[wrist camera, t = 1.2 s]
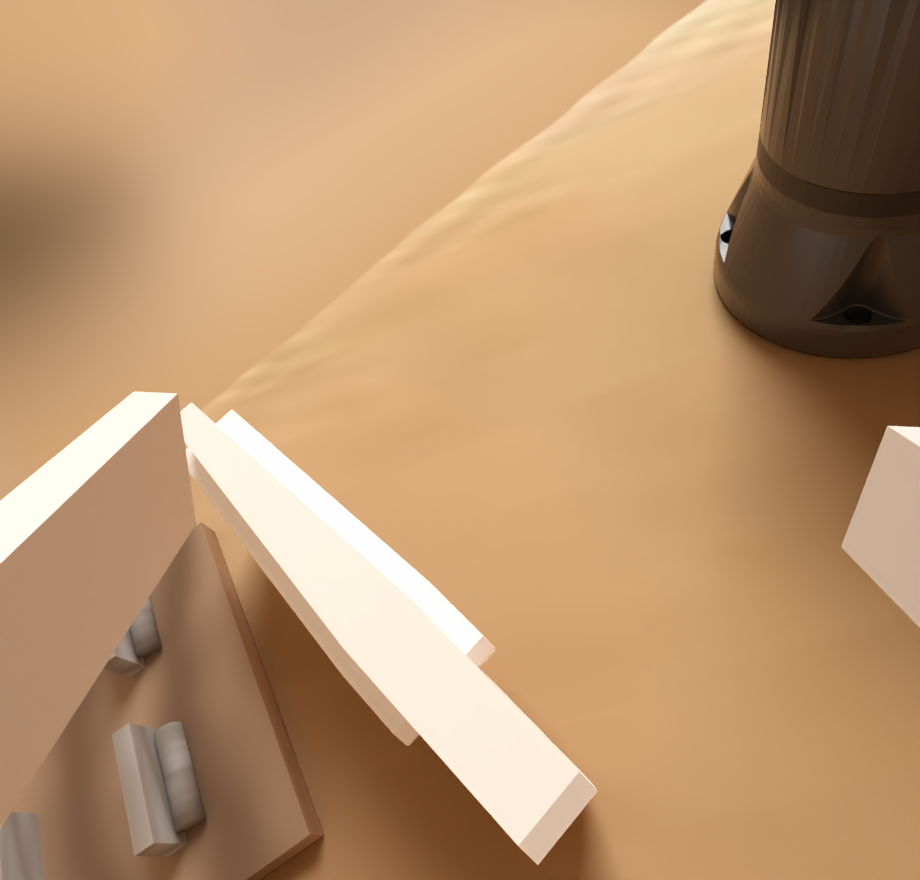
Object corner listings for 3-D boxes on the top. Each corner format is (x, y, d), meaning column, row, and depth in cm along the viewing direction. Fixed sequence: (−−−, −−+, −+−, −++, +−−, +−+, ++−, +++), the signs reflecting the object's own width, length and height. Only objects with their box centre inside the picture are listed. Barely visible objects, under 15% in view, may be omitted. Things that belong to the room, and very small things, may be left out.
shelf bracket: (307, 467, 43) (222, 375, 32) (594, 753, 34) (618, 767, 23) (246, 524, 42) (135, 449, 31) (526, 837, 33) (516, 895, 22)
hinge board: (214, 531, 42) (177, 505, 39) (324, 834, 31) (283, 833, 27) (-55, 707, 41) (-117, 695, 37) (-47, 1098, 29) (-136, 1129, 26)
